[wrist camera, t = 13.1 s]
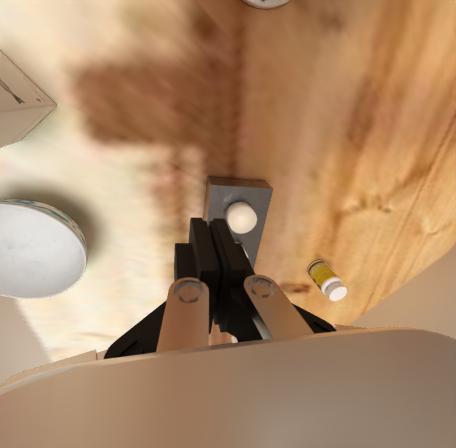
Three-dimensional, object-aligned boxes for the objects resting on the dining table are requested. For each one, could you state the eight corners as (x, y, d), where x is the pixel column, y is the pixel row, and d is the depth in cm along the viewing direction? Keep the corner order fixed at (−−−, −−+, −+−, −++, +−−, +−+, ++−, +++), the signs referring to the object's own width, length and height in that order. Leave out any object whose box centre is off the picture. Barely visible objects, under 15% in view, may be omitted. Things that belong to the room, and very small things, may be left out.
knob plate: (207, 176, 38) (211, 184, 35) (264, 180, 41) (273, 188, 38) (196, 286, 50) (198, 300, 46) (241, 284, 52) (246, 297, 49)
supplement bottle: (302, 270, 54) (323, 298, 47) (317, 256, 53) (340, 282, 46) (315, 277, 57) (336, 305, 50) (329, 264, 55) (353, 290, 48)
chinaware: (-38, 186, 32) (-91, 211, 25) (83, 177, 34) (63, 197, 28) (14, 271, 39) (-16, 307, 33) (110, 258, 42) (99, 289, 35)
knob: (223, 193, 39) (231, 207, 34) (248, 194, 40) (259, 208, 36) (220, 216, 41) (227, 233, 36) (244, 217, 42) (253, 233, 38)
